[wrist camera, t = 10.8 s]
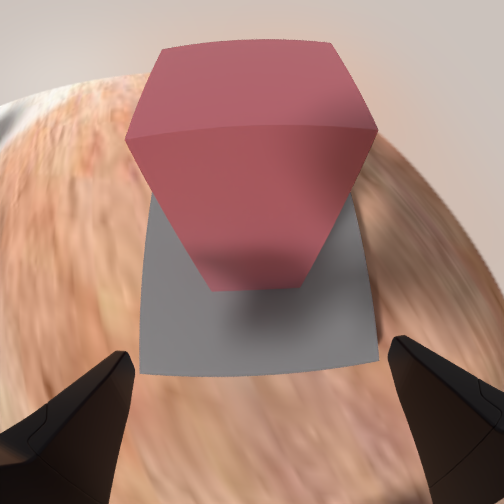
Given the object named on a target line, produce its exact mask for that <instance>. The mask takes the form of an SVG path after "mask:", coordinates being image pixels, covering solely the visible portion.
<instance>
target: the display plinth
mask: <svg viewBox="0 0 504 504" xmlns="http://www.w3.org/2000/svg"><path fill="white" fill-rule="evenodd" d="M376 361H379V352H378V342H377V332H376V323H375V315H374V308H373V301H372V294H371V288H370V282H369V276H368V270H367V264H366V259H365V254H364V249H363V244H362V239H361V234H360V230H359V225H358V221H357V217H356V212H355V208H354V204H353V200H352V196H351V192H350V193H349V195H348V197H347V199H346V201H345V203H344V205H343V208H342V210H341V212H340V214H339V216H338V218H337V219H336V221H335V223H334V225H333V227H332V229H331V231H330V233H329V235H328V237H327V239H326V241H325V243H324V245H323V247H322V248H321V250H320V252H319V254H318V256H317V258H316V260H315V262H314V263H313V265H312V267H311V269H310V271H309V273H308V274H307V276H306V278H305V280H304V282H303V283H302V285H301V287H300V288H287V289H267V290H244V291H215V292H212V291H211V290H210V288H209V287H208V285H207V284H206V282H205V280H204V279H203V277H202V276H201V274H200V272H199V271H198V269H197V267H196V266H195V264H194V263H193V261H192V259H191V258H190V256H189V254H188V253H187V251H186V249H185V248H184V246H183V244H182V243H181V241H180V239H179V238H178V236H177V234H176V233H175V231H174V229H173V227H172V226H171V224H170V222H169V221H168V219H167V217H166V215H165V214H164V212H163V210H162V208H161V207H160V205H159V203H158V201H157V199H156V198H155V196H154V194H153V192H152V197H151V203H150V210H149V217H148V225H147V233H146V242H145V252H144V262H143V274H142V288H141V307H140V374H150V375H166V376H191V377H234V376H260V375H276V374H289V373H299V372H309V371H318V370H326V369H333V368H340V367H347V366H353V365H359V364H365V363H371V362H376Z"/></svg>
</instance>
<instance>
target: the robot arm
mask: <svg viewBox="0 0 504 504" xmlns="http://www.w3.org/2000/svg"><path fill="white" fill-rule="evenodd" d="M388 362H389V365H390V369H391V372H392V376H393V380H394V383H395V387H396V391H397V394H398V397H399V400H400V403H401V405H402V408H403V411H404V413H405V416H406V419H407V421H408V424H409V427H410V430H411V433H412V436H413V438H414V441H415V444H416V447H417V450H418V453H419V457H420V460H421V463H422V466H423V469H424V473H425V476H426V480H427V483H428V487H429V491H430V494H431V498H432V502H433V504H504V392H502V391H500V390H498V389H496V388H495V387H493V386H491V385H489V384H487V383H486V382H484V381H482V380H481V379H478V378H477V377H475V376H474V375H472V374H470V373H469V372H467V371H465V370H464V369H462V368H460V367H458V366H457V365H455V364H453V363H452V362H450V361H448V360H447V359H445V358H443V357H441V356H440V355H438V354H436V353H435V352H433V351H431V350H430V349H428V348H426V347H424V346H423V345H421V344H419V343H418V342H416V341H414V340H412V339H411V338H409V337H407V336H405V335H401V336H396V337H394V338H393V340H392V343H391V346H390V349H389V352H388ZM134 378H135V368H134V365H133V363H132V361H131V358H130V356H129V354H128V352H126V351H115V352H113V353H112V354H111V355H109V356H108V357H107V358H105V359H104V360H103V361H102V362H100V363H99V364H98V365H96V366H95V367H94V368H92V369H91V370H90V371H88V372H87V373H86V374H84V375H83V376H82V377H80V378H79V379H78V380H76V381H75V382H74V383H72V384H71V385H70V386H68V387H67V388H66V389H64V390H63V391H62V392H61V393H59V394H58V395H57V396H55V397H54V398H53V399H51V400H50V401H49V402H48V404H47V403H46V404H45V405H43V406H42V407H41V408H39V409H38V410H37V411H35V412H34V413H32V414H31V415H30V416H28V417H26V418H25V419H23V420H22V421H20V422H19V423H17V424H15V425H14V426H12V427H10V428H9V429H7V430H5V431H4V432H2V433H0V504H109V499H110V493H111V488H112V483H113V478H114V473H115V468H116V463H117V459H118V455H119V450H120V446H121V442H122V438H123V434H124V430H125V426H126V422H127V418H128V414H129V409H130V403H131V397H132V390H133V384H134Z"/></svg>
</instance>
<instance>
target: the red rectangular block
mask: <svg viewBox="0 0 504 504" xmlns="http://www.w3.org/2000/svg"><path fill="white" fill-rule="evenodd" d="M377 132H378V128H377V126H376V124H375V122H374V119H373V117H372V115H371V113H370V111H369V109H368V107H367V105H366V103H365V101H364V99H363V97H362V95H361V93H360V91H359V90H358V88H357V86H356V84H355V83H354V81H353V79H352V77H351V75H350V74H349V72H348V70H347V68H346V67H345V65H344V63H343V62H342V60H341V58H340V57H339V55H338V53H337V52H336V50H335V49H334V47H333V46H332V44H331V43H326V42H316V41H301V40H279V39H276V40H275V39H259V40H232V41H219V42H209V43H200V44H193V45H185V46H180V47H173V48H168V49H163V50H162V51H161V53H160V55H159V57H158V59H157V61H156V63H155V65H154V68H153V70H152V72H151V74H150V76H149V78H148V81H147V83H146V85H145V88H144V90H143V92H142V95H141V97H140V100H139V102H138V105H137V107H136V110H135V112H134V115H133V118H132V120H131V123H130V126H129V129H128V132H127V135H126V137H125V141H126V143H127V145H128V147H129V149H130V151H131V153H132V155H133V157H134V159H135V161H136V163H137V165H138V166H139V168H140V170H141V172H142V174H143V176H144V178H145V179H146V181H147V183H148V185H149V187H150V189H151V190H152V192H153V194H154V196H155V198H156V199H157V201H158V203H159V205H160V207H161V208H162V210H163V212H164V214H165V215H166V217H167V219H168V221H169V222H170V224H171V226H172V227H173V229H174V231H175V233H176V234H177V236H178V238H179V239H180V241H181V243H182V244H183V246H184V248H185V249H186V251H187V253H188V254H189V256H190V258H191V259H192V261H193V263H194V264H195V266H196V267H197V269H198V271H199V272H200V274H201V276H202V277H203V279H204V280H205V282H206V284H207V285H208V287H209V288H210V290H211V291H212V292H215V291H244V290H267V289H287V288H300V287H301V285H302V283H303V282H304V280H305V278H306V276H307V274H308V273H309V271H310V269H311V267H312V265H313V263H314V262H315V260H316V258H317V256H318V254H319V252H320V250H321V248H322V247H323V245H324V243H325V241H326V239H327V237H328V235H329V233H330V231H331V229H332V227H333V225H334V223H335V221H336V219H337V218H338V216H339V214H340V212H341V210H342V208H343V205H344V203H345V201H346V199H347V197H348V195H349V193H350V191H351V189H352V187H353V185H354V183H355V181H356V179H357V176H358V174H359V172H360V170H361V168H362V166H363V164H364V161H365V159H366V157H367V155H368V153H369V150H370V148H371V146H372V144H373V141H374V139H375V137H376V135H377Z"/></svg>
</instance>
